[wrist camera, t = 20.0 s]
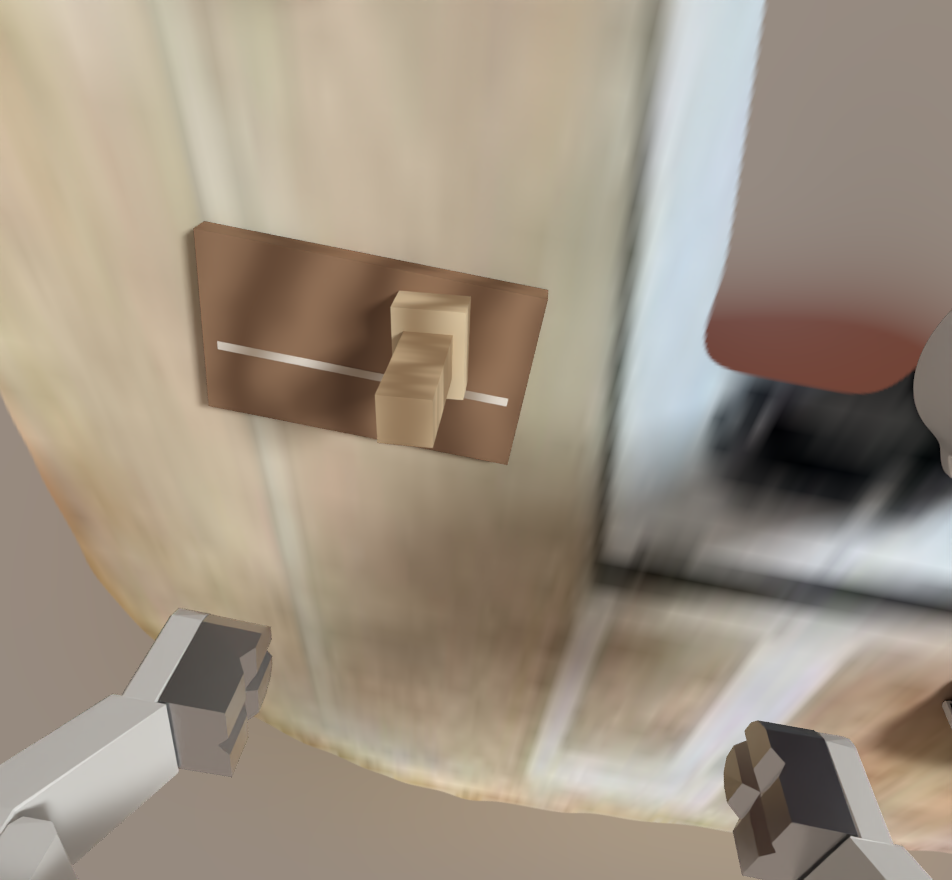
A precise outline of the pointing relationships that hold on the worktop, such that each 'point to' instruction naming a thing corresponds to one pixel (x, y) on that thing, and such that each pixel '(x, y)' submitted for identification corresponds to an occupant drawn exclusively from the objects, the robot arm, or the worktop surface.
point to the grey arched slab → (948, 711)
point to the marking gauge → (423, 366)
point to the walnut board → (351, 336)
